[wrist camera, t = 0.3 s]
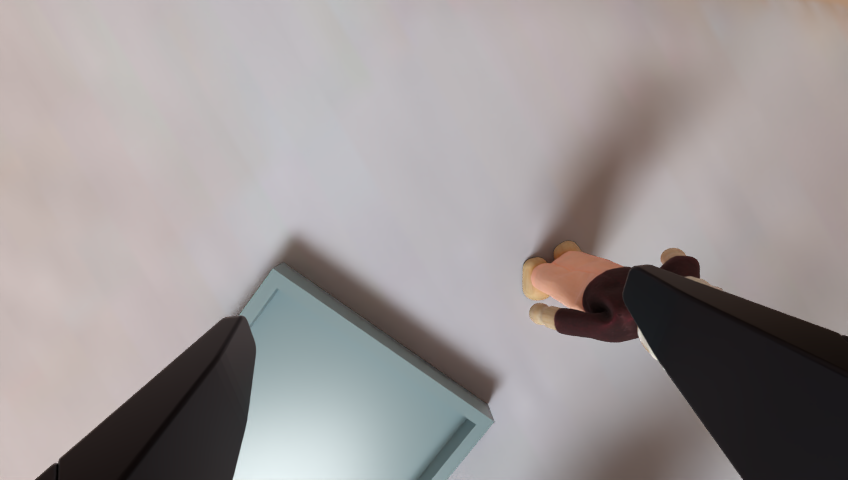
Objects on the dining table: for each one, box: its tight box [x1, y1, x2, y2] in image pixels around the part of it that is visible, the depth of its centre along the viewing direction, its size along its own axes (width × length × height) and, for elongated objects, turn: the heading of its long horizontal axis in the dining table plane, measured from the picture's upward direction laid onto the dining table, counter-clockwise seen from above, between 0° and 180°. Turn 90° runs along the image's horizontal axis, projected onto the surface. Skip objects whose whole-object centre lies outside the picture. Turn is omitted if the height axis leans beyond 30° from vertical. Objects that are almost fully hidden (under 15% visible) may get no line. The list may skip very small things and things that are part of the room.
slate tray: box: [233, 262, 494, 480], centre depth 23 cm, size 16×16×2 cm
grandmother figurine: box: [522, 241, 722, 369], centre depth 17 cm, size 8×4×13 cm, turn 125°
